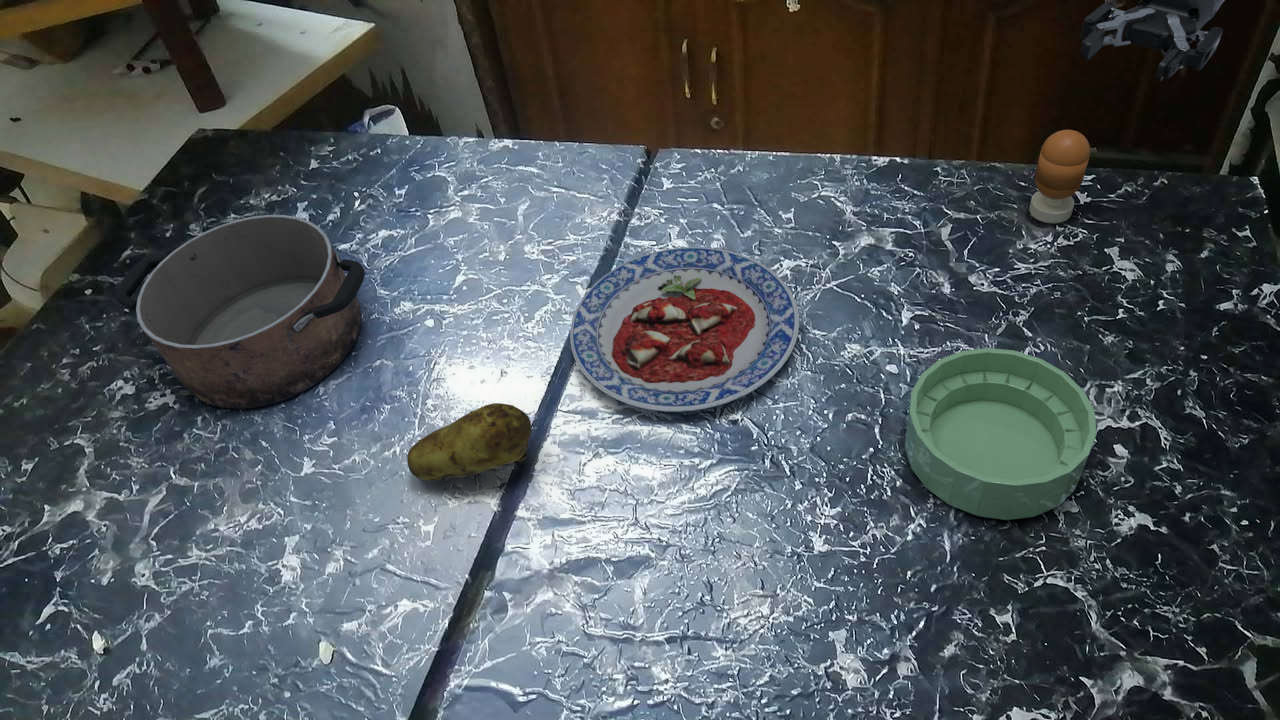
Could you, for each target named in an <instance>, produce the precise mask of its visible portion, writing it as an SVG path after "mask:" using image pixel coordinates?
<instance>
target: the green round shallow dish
mask: <svg viewBox="0 0 1280 720" xmlns="http://www.w3.org/2000/svg"><path fill="white" fill-rule="evenodd" d="M1095 411H1096V410H1094V407H1093V406H1092V404H1091V402H1090V400H1089V398H1088V396H1087V394H1086V392H1085V391H1084V389H1083V388H1082V387H1080V385H1078V384H1077V382H1075V380H1073V378H1071V377H1070V376H1069V375H1068V374H1067V373H1066V372H1065V371H1063V370H1061V369H1060V368H1058V367H1057V366H1055V365H1053V364H1051V363H1049V362H1047V361H1046V360H1045V359H1042V358H1040V357H1037V356H1034V355H1030V354H1027V353H1024V352H1021V351H1018V350H1014V349H1004V348H1003V349H1002V348H993V347H982V348H976V349H968V350H960V351H958V352H955V353H952V354H950V355H947V356H945V357H942V358H940V359H938V360H937V361H936V362H934V363H933V364H931V365H930V366H929V367H928V368H927V369H926V370H924V371H923V372H922V373H921V374H920V375H919V377H918V379H917V380H916V383H915V385H914V386H913V388H912V390H911V392H910V399H909V405H908V412H907V418H906V425H905V436H904V437H905V438H904V449H905V450H904V451H905V454H906V456H907V459H908V463H909V466H910V469H911V470H912V472H913V473H914V474H915V475H916V477H917V479H919V481H920V482H921V484H923V486H924V487H925V489H927V490H928V491H929V492H930V493H932V494H933V495H935V496H936V497H937V498H939V499H940V500H942V501H943V502H945V503H946V504H947V505H949V506H950V507H954V508H956V509H959V510H961V511H964V512H966V513H969V514H971V515H973V516H976V517H982V518H987V519H989V518H990V519H996V520H1002V521H1009V520H1010V521H1011V520H1018V519H1027V518H1035V517H1037V516H1039V515H1042V514H1044V513H1046V512H1048V511H1050V510H1053V509H1056V508H1057V507H1059V506H1060V505H1062V504H1063V503H1064V502H1065V501H1066V500H1067V498H1069V497H1070V496H1071V494H1073V493H1074V492H1075V491H1076V489H1077V486H1078V484H1079V481H1080V480H1081V476H1082V474H1083V471H1084V468H1085V466H1086V463H1087V462H1088V461H1087V460H1088V458H1089V455H1090V454H1091V451H1092V448H1093V445H1094V444H1095V440H1096V438H1097V432H1098V431H1097V420H1096V412H1095Z"/></svg>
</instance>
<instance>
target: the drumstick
mask: <svg viewBox="0 0 1280 720" xmlns="http://www.w3.org/2000/svg"><path fill="white" fill-rule="evenodd" d="M1090 155H1091V146H1090V143H1089V141H1088V139H1087V138H1086V136H1084V134H1082V133H1081V132H1079V131H1077V130H1073V129H1061V130H1057V131H1056V132H1054V133H1052V134H1051V135H1049V136H1048V137H1047V139H1046V140H1045V141H1044V142H1043V144H1042V146H1041V149H1040V153H1039V158H1038V163H1037V166H1036V169H1035V175H1034V182H1035V186H1036V188H1037V190H1038V191H1036V192H1035V193H1033V195H1032V197H1031V199H1030V202H1029V203H1030V204H1029V207H1028V208H1029V209H1028V210H1029V213H1030V215H1031V216H1032V217H1033V218H1034V219H1036V220H1037V221H1040V222H1042V223H1046V224H1060V223H1063V222H1066V221H1068V220H1069V219H1070V218H1071V216H1072V214H1073V210H1074V208H1075V207H1074V206H1075V199H1074V197H1072V196H1073V195H1074V194H1075V193H1077V192H1078V191H1079V189H1080V188H1081V186H1082V184H1083V181H1084V177H1085V174H1086V170H1087V166H1088V164H1089V159H1090Z"/></svg>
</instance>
